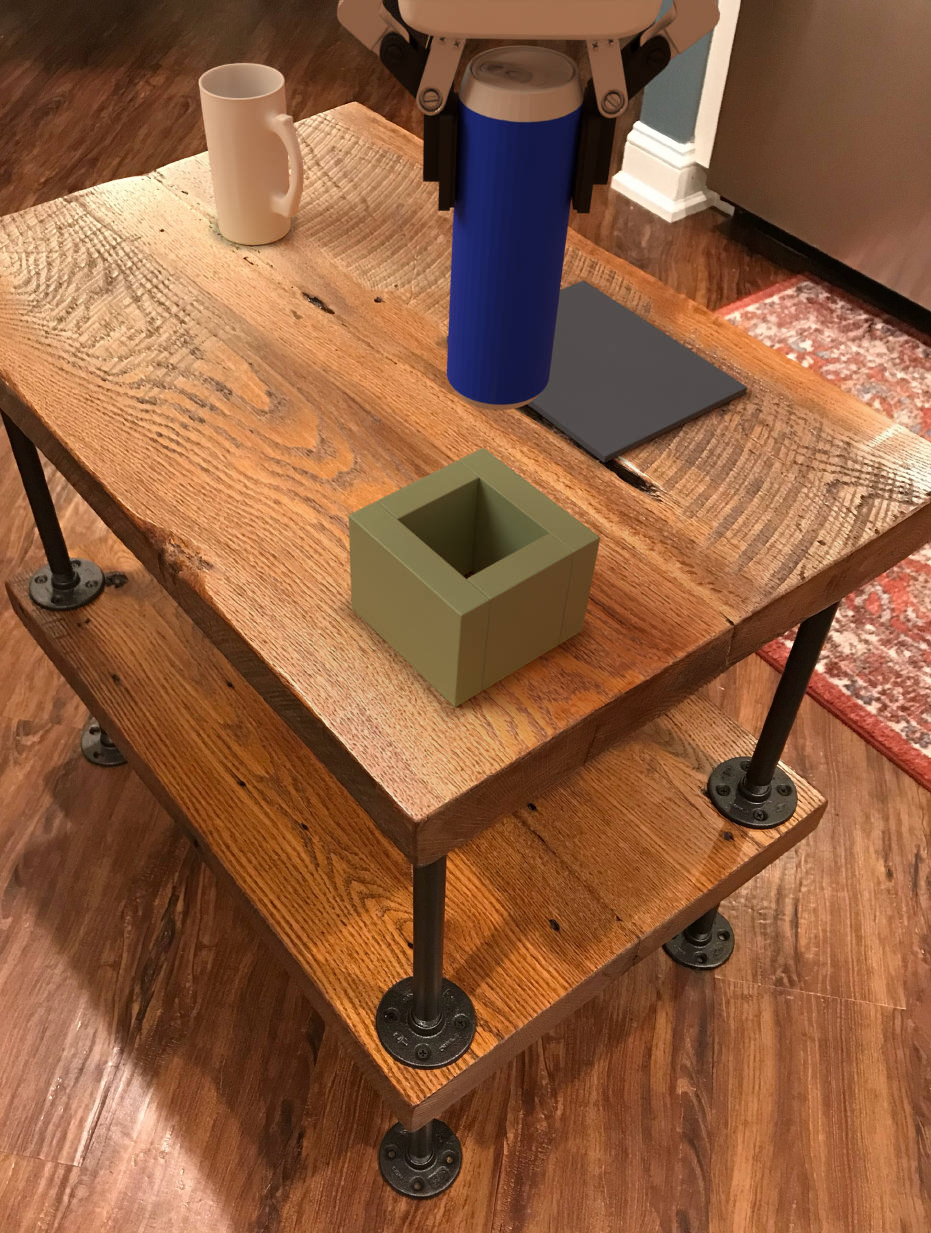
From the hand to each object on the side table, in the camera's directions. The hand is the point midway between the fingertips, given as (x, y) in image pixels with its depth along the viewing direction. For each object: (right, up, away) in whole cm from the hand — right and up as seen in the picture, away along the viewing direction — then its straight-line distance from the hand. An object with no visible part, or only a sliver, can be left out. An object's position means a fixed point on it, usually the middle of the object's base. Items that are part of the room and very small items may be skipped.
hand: (513, 193), depth 50 cm
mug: (-16, +18, +48) cm, 54 cm away
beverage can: (0, -6, +8) cm, 10 cm away
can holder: (-1, -17, +19) cm, 26 cm away
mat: (+10, +3, +36) cm, 37 cm away
